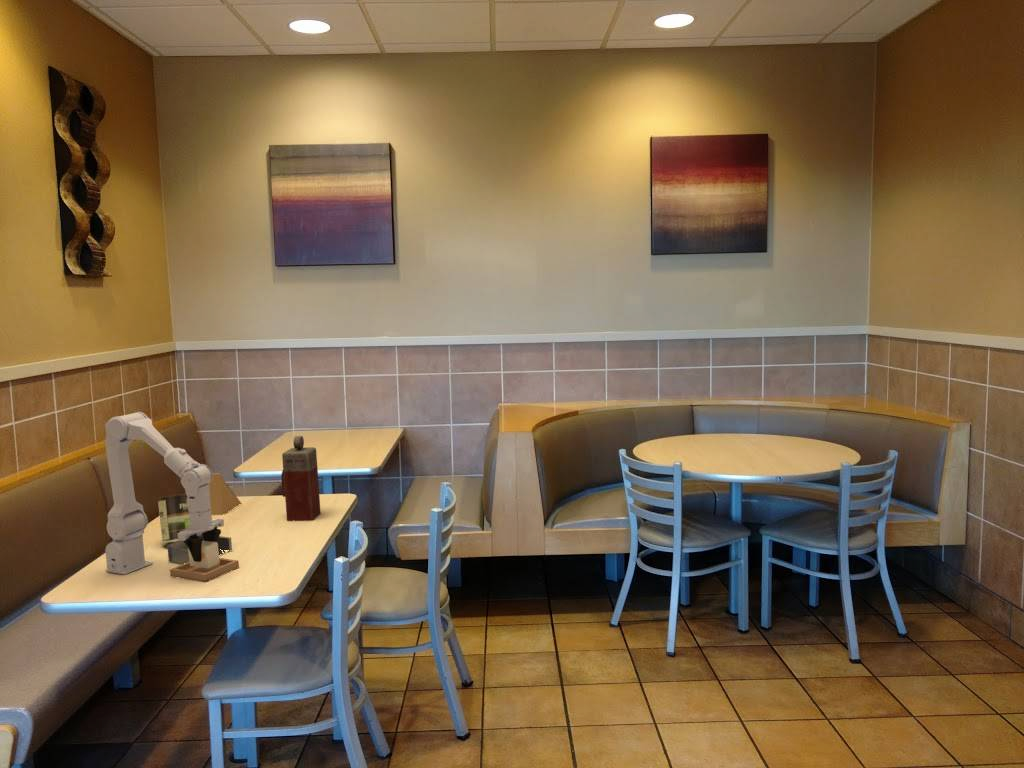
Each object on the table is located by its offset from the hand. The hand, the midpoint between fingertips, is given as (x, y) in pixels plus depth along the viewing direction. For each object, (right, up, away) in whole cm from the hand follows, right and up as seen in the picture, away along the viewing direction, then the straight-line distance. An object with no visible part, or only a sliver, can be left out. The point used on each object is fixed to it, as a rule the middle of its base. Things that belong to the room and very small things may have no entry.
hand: (204, 558), depth 219 cm
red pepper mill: (+13, +2, +53) cm, 54 cm away
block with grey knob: (0, -2, 0) cm, 2 cm away
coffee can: (-18, -1, +27) cm, 33 cm away
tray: (0, -4, 0) cm, 4 cm away
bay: (-6, -2, +15) cm, 16 cm away
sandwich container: (-20, +3, +68) cm, 71 cm away
